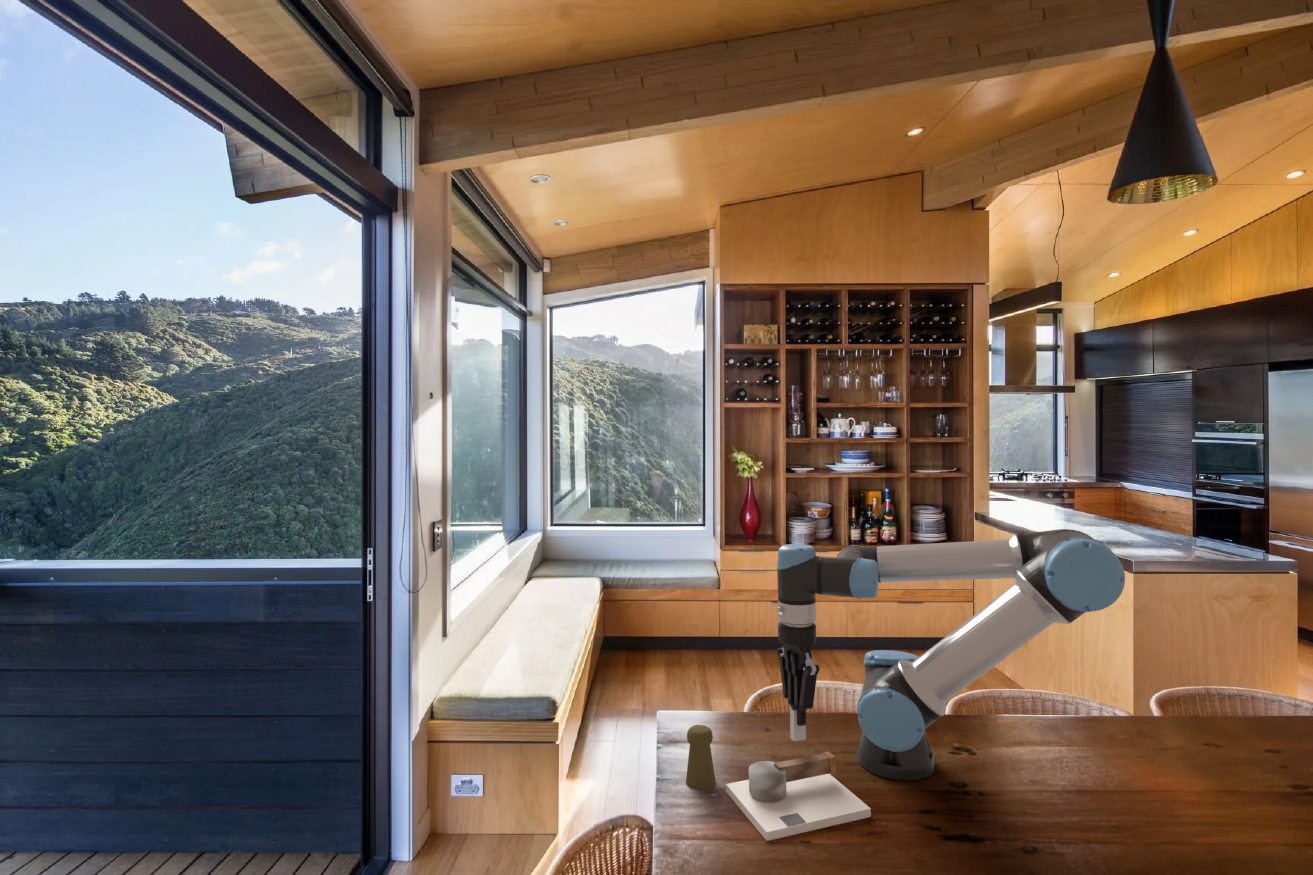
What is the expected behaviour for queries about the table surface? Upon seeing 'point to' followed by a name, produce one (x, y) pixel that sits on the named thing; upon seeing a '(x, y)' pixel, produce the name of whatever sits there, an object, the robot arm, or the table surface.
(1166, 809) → the table surface
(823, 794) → the base plate
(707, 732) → the olive pawn
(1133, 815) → the table surface
